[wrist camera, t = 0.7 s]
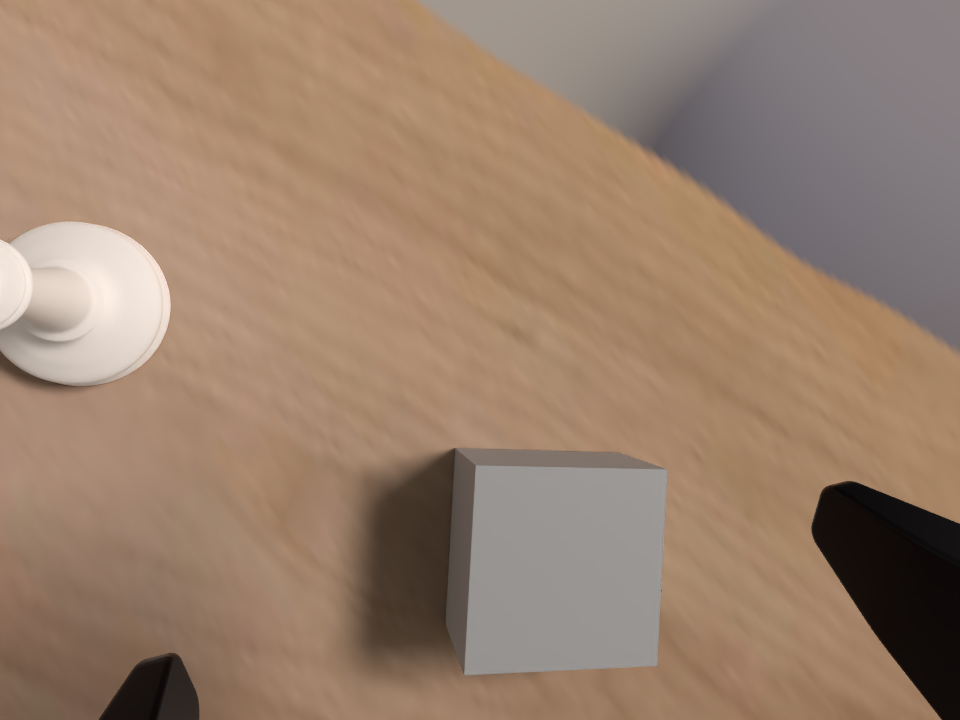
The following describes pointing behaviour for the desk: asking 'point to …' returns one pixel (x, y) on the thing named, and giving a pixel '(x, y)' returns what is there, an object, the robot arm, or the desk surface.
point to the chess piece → (80, 303)
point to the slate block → (554, 560)
